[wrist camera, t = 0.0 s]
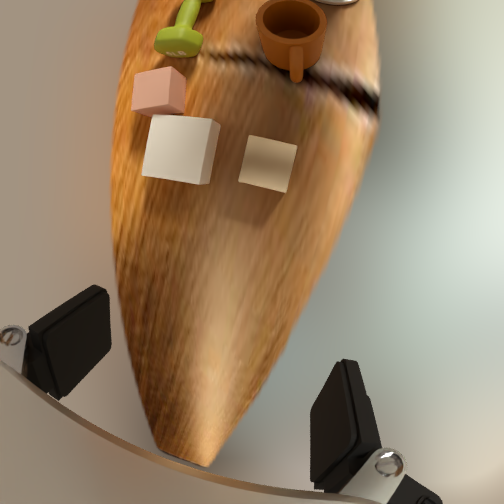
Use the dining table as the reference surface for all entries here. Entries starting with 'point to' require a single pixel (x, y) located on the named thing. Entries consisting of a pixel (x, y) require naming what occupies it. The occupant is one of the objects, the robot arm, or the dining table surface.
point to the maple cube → (267, 163)
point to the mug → (291, 34)
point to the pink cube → (159, 92)
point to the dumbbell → (181, 33)
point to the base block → (181, 148)
